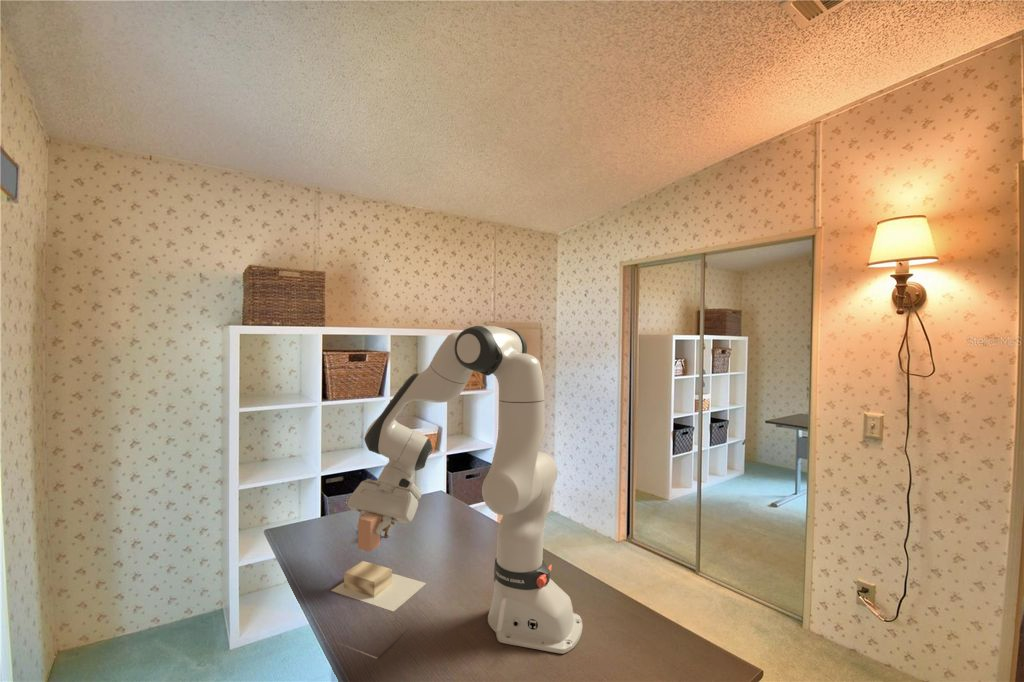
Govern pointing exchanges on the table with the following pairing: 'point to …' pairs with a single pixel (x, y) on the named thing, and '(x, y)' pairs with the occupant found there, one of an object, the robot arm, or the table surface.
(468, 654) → the table surface
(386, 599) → the mat
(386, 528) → the lion figurine
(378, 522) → the pillar
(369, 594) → the plinth
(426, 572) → the table surface
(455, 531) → the table surface
